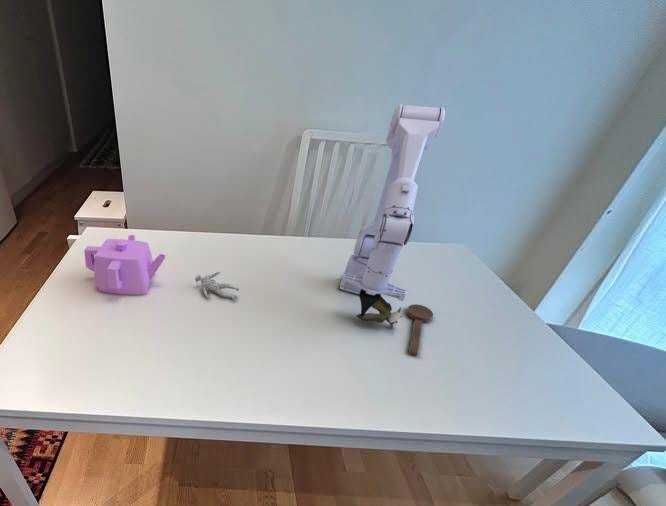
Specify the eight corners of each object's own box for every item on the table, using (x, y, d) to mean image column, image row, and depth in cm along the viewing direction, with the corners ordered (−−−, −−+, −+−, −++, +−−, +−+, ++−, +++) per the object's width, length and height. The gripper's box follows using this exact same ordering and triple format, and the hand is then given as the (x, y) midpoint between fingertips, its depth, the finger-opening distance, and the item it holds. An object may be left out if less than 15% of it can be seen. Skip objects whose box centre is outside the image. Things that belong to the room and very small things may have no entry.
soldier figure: (228, 308, 101) (188, 287, 102) (227, 310, 106) (189, 290, 107) (242, 282, 101) (201, 261, 102) (241, 285, 106) (202, 265, 106)
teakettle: (85, 279, 109) (76, 238, 100) (137, 261, 117) (133, 222, 109) (114, 307, 99) (107, 265, 91) (169, 285, 107) (167, 245, 99)
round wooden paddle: (426, 359, 87) (428, 354, 86) (398, 350, 89) (400, 346, 88) (431, 312, 101) (433, 308, 100) (407, 306, 103) (409, 301, 102)
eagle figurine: (392, 314, 99) (360, 298, 100) (409, 302, 93) (376, 285, 93) (384, 338, 97) (352, 321, 97) (401, 327, 90) (367, 309, 90)
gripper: (344, 267, 88) (330, 314, 97) (411, 284, 83) (390, 332, 92) (350, 254, 92) (336, 300, 101) (414, 269, 88) (394, 316, 97)
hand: (362, 315), depth 97 cm, fingers closed, pressing on eagle figurine
